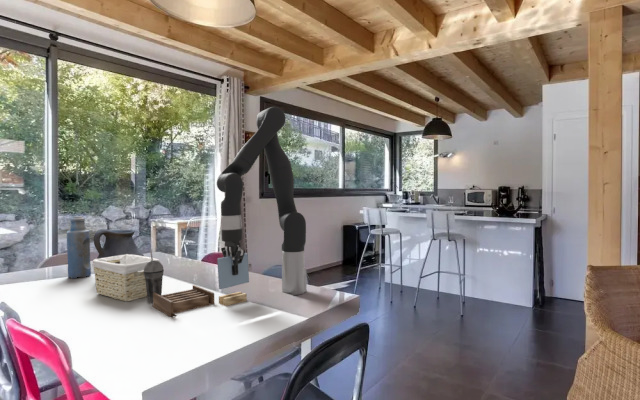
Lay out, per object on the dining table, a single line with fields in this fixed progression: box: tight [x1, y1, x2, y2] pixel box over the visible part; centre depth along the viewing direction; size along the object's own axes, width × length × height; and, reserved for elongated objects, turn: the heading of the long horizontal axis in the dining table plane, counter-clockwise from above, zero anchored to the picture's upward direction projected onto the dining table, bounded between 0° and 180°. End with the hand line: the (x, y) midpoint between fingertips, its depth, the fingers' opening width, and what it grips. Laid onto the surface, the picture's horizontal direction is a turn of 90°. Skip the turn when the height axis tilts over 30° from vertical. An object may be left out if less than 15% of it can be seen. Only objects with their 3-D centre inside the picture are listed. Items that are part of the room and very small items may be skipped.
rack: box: [152, 284, 215, 318], centre depth 136 cm, size 16×16×5 cm
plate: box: [216, 252, 250, 290], centre depth 138 cm, size 12×1×11 cm, turn 135°
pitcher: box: [93, 228, 145, 264], centre depth 179 cm, size 21×22×25 cm
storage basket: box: [92, 254, 161, 302], centre depth 154 cm, size 24×16×15 cm
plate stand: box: [218, 291, 248, 307], centre depth 138 cm, size 9×5×4 cm, turn 134°
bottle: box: [66, 216, 92, 279], centre depth 187 cm, size 10×10×30 cm
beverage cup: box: [143, 249, 165, 304], centre depth 143 cm, size 7×7×20 cm
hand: (233, 274), depth 138 cm, fingers closed on plate, 1 cm apart
